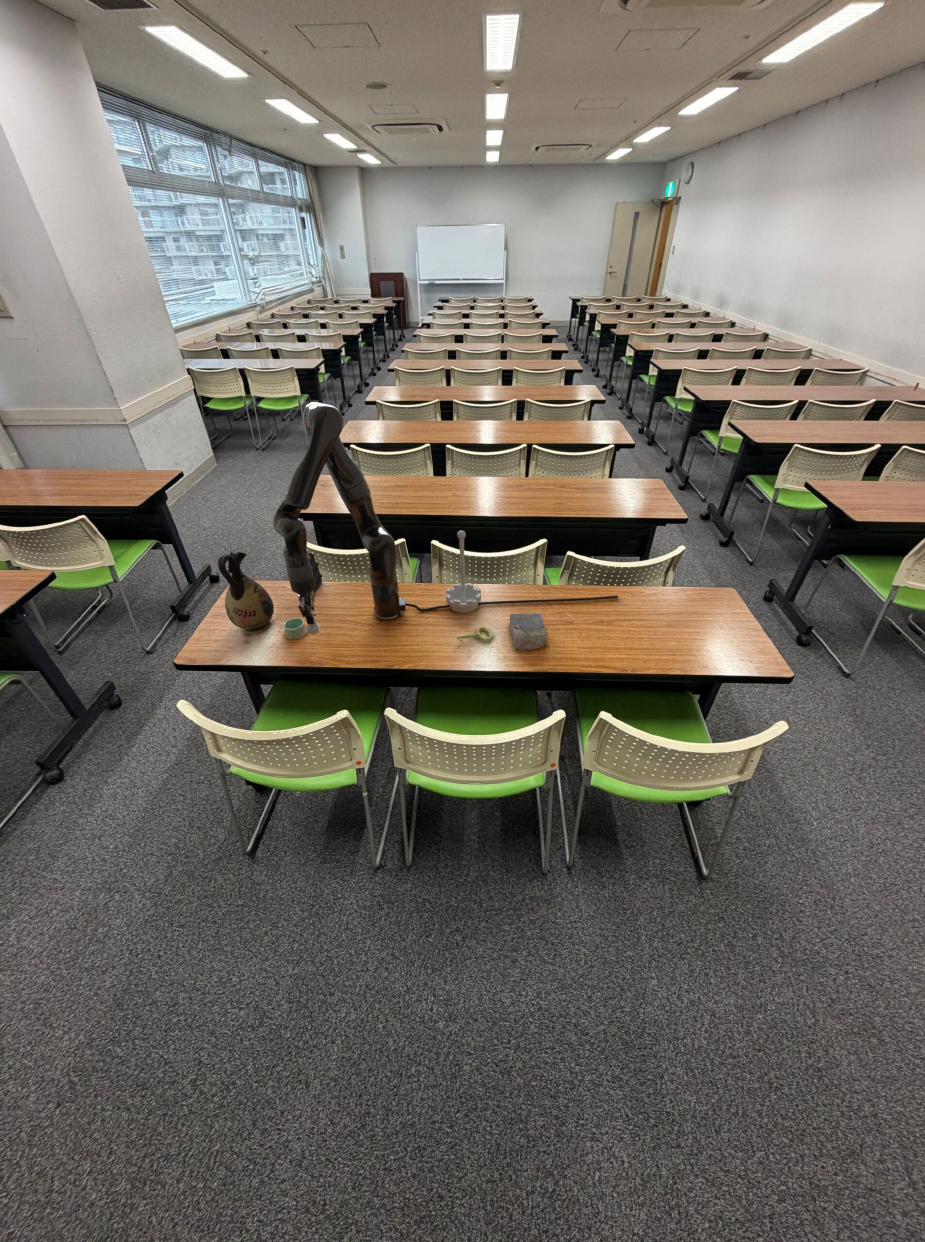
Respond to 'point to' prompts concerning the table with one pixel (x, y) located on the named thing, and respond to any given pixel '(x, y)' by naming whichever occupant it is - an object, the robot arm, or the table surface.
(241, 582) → the ceramic jug
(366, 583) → the table surface
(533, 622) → the geological specimen
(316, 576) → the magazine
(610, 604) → the table surface
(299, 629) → the cup
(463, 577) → the flag stand
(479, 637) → the key
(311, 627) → the rook chess piece
